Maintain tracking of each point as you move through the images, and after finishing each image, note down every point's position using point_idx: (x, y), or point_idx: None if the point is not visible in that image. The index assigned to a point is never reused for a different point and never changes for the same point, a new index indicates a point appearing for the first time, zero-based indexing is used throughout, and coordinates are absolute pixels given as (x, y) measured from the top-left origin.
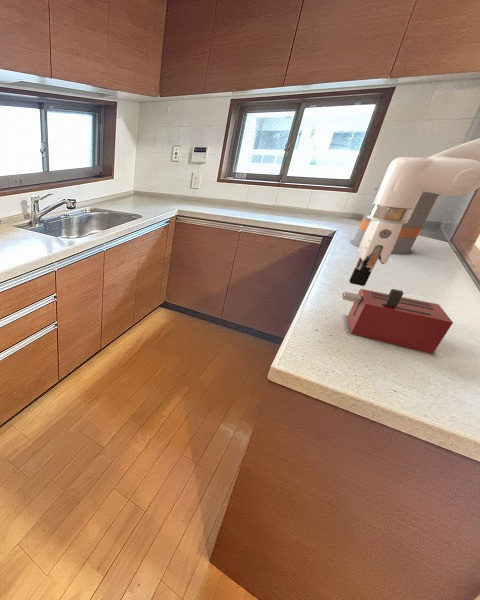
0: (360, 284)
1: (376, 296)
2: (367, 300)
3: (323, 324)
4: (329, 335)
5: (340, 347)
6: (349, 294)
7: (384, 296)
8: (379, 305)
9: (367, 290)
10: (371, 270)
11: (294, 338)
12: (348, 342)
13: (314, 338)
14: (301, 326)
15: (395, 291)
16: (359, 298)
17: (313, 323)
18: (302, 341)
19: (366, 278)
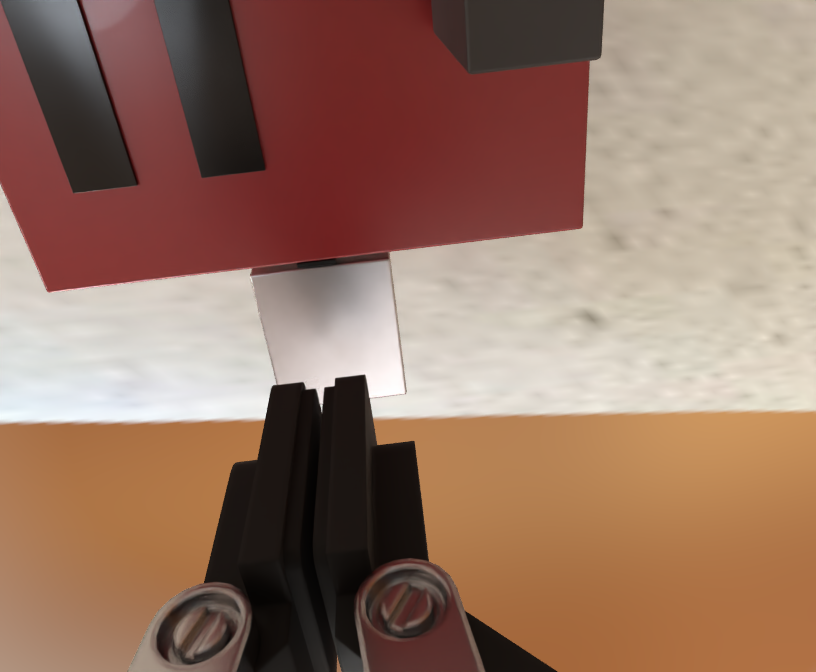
0: (372, 417)
1: (205, 121)
2: (450, 213)
3: (461, 294)
4: (622, 246)
5: (772, 174)
6: (337, 362)
7: (84, 14)
8: (541, 87)
9: (34, 221)
10: (455, 603)
11: (775, 394)
12: (665, 132)
13: (719, 314)
14: (587, 391)
15: (600, 15)
16: (387, 275)
17: (490, 345)
18: (793, 358)
19: (367, 463)
